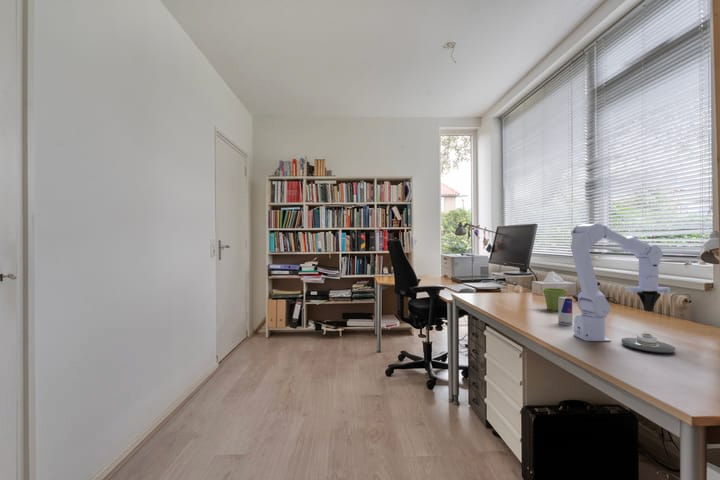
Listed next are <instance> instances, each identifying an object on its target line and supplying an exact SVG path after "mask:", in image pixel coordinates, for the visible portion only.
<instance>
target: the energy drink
mask: <svg viewBox="0 0 720 480" xmlns="http://www.w3.org/2000/svg"><path fill="white" fill-rule="evenodd" d="M557 311H558V312H557V313H558V315H557V318H558V319H557V321H558V322H557V323H558V324H559V325H563V326H572V325H573V298H572V297H571V296H565V297H559V299H558V310H557Z"/></svg>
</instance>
